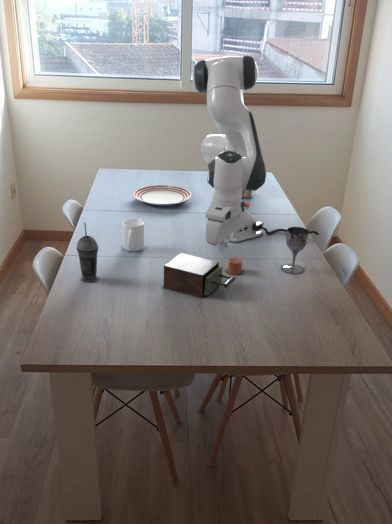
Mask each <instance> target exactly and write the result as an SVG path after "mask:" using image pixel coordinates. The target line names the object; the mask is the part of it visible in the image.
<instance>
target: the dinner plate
mask: <svg viewBox="0 0 392 524" xmlns="http://www.w3.org/2000/svg"><path fill="white" fill-rule="evenodd" d="M133 197H134V198H135V199H136V200H138V201H140V202H142V203H145V204H148V205H151V206H157V207H171V206H174V205H175V206H176V205H179V204H183V203H184V202H187V201H188V200H190V199H191V198H192V192H191V191H190V190H189V189H187V188H184V187H182V186H177V185H172V184H151V185H146V186H142V187H139V188H137V189H136V190H135V191H134V192H133Z"/></svg>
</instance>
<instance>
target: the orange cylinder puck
mask: <svg viewBox="0 0 392 524" xmlns="http://www.w3.org/2000/svg"><path fill="white" fill-rule="evenodd" d="M242 269H243V260H242V258H238V257H231V258H228V262H227V273H228V274H230V275H233V276H234V275H235V276H236V275H240V274H242V271H243V270H242Z"/></svg>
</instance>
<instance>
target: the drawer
mask: <svg viewBox="0 0 392 524" xmlns="http://www.w3.org/2000/svg"><path fill="white" fill-rule="evenodd" d="M223 267H224V266H223V265H219V266H218V267H217V268H216V269H215V268H214V269H213V270H211V271H210V272H209V273H208V274H207V275H206V276H204V286H203V291H204V290H205V292H204V296H206V297H207V296H209V295H210V294H211V293H212V292H213V291H214V290H216V288H218V287H219V286H222V287H223V288H225V289H227V288H228V287H229V286H230V285H231V284H232V283H233V282H234V281H236V277H235V276H234V275H232V276H228V275H224V274H223ZM223 278H224V279H227V281H226V282H225V283H223V282H222V281H223Z"/></svg>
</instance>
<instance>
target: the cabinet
mask: <svg viewBox="0 0 392 524" xmlns="http://www.w3.org/2000/svg"><path fill="white" fill-rule="evenodd" d="M218 266H220V261H217V260H212V259H208V258H204V257H201V256H195V255H191V254H188V253H182V252H181V253H179V254H178V255H176V256H174V258H172V259H171V260H169V261H168V262H167V263H166V264H164V265H163V288H164V289H168V290H172V291H176V292H180V293H183V294H187V295H191V296H195V297H198V298H203V297H205V295H204V292H205V290H204V291H203V286H204V276H206V275H207V274H208V273H209V272H210V271H211V270H213V269H214V268H215V269H216V268H217V267H218Z"/></svg>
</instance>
